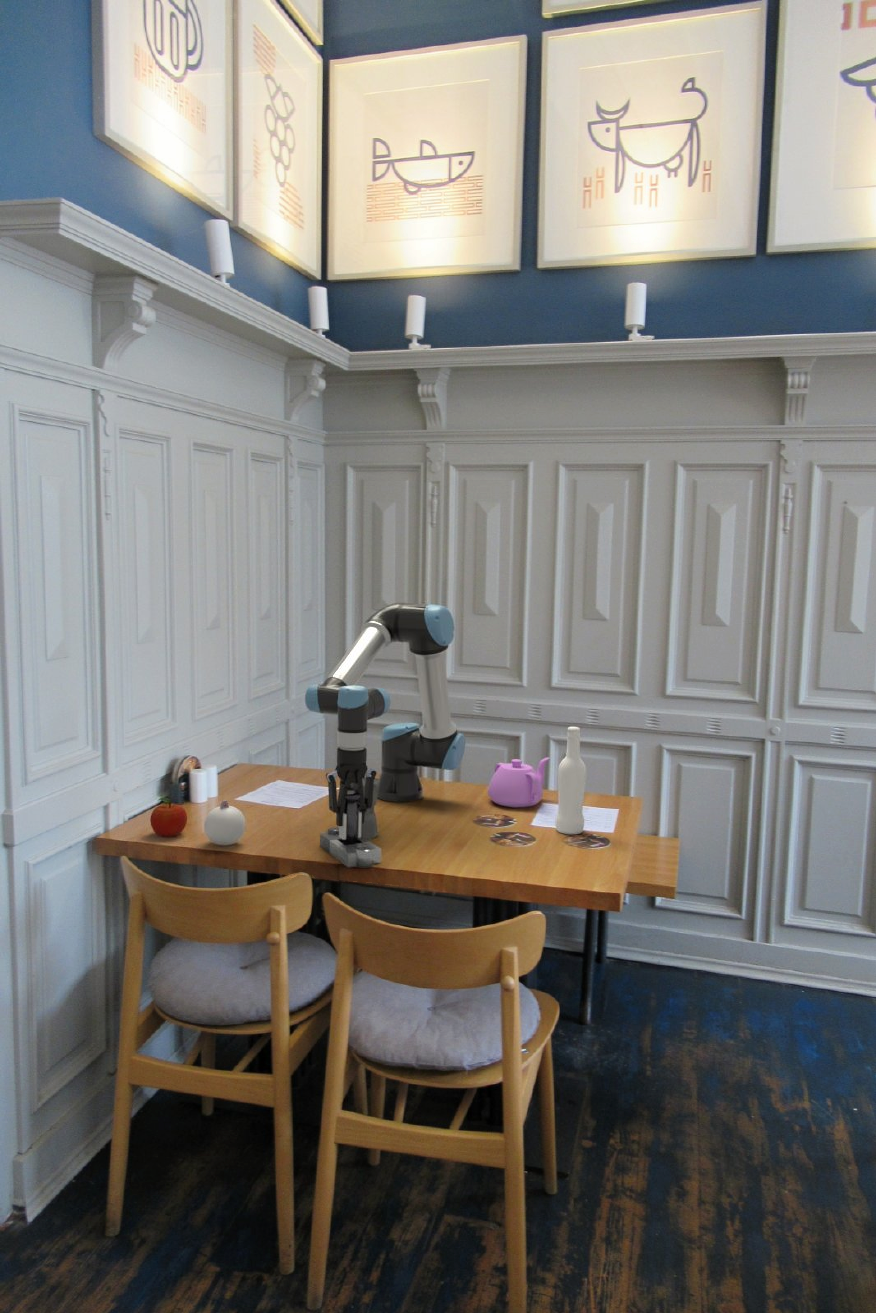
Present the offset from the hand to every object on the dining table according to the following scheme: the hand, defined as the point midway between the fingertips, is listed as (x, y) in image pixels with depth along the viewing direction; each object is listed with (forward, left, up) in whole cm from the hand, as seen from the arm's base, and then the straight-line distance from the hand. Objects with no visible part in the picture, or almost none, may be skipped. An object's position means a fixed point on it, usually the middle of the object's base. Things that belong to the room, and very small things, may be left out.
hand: (350, 836), depth 244 cm
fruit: (+37, -35, -5) cm, 51 cm away
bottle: (-65, +7, -5) cm, 66 cm away
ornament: (+26, -21, -5) cm, 34 cm away
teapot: (-70, -25, -5) cm, 75 cm away
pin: (0, 0, -3) cm, 3 cm away
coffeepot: (-9, -13, -5) cm, 17 cm away
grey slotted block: (0, 0, -5) cm, 5 cm away
